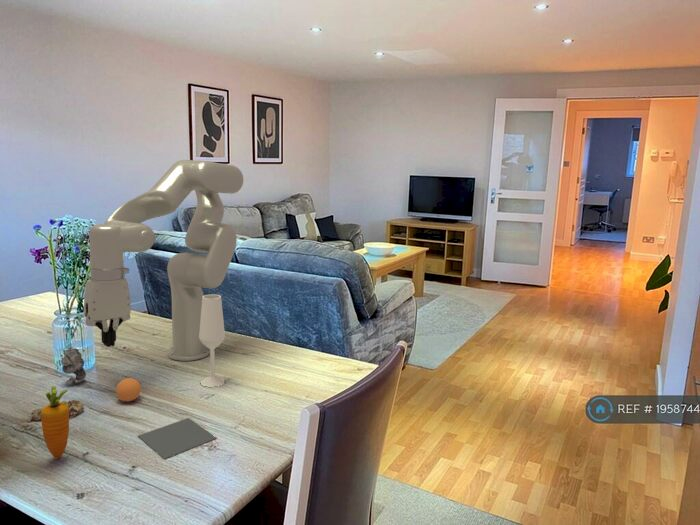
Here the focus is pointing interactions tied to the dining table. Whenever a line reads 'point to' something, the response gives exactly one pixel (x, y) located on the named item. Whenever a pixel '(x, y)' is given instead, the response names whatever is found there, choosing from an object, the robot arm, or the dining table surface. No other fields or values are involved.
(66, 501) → the dining table surface
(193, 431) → the slate mark
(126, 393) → the ball
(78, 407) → the mineral rock
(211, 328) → the champagne flute
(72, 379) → the seashell
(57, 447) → the carrot
